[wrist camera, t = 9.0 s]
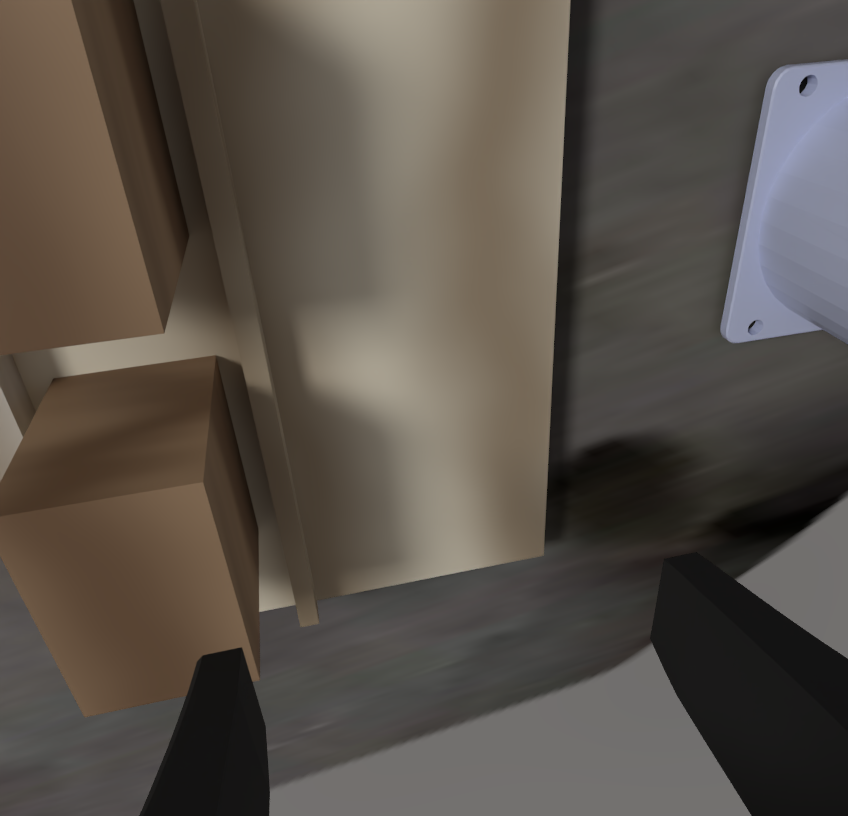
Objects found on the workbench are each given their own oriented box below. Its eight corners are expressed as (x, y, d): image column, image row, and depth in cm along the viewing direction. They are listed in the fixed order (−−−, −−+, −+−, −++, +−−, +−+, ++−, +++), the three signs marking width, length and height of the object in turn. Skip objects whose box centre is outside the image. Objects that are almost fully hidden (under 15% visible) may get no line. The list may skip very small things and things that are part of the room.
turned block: (115, -76, 13) (41, -108, 8) (189, 235, 16) (164, 333, 12) (-124, -64, 12) (-346, -94, 8) (1, 257, 16) (-104, 369, 11)
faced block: (215, 355, 18) (203, 482, 13) (258, 529, 21) (260, 680, 16) (47, 379, 17) (-27, 521, 13) (117, 554, 20) (78, 718, 16)
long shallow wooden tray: (581, -853, 10) (659, -1054, 8) (532, 533, 25) (556, 579, 23) (-622, -993, 8) (-905, -1312, 6) (98, 616, 23) (84, 676, 21)
